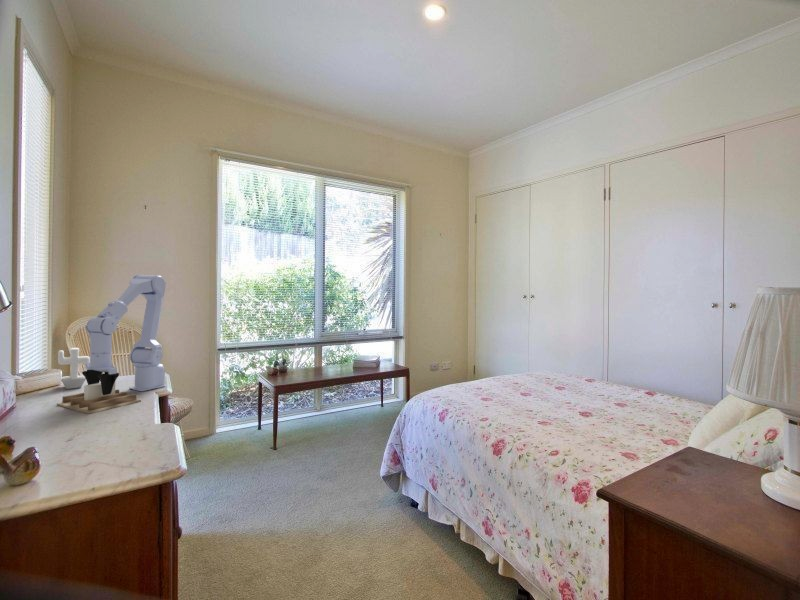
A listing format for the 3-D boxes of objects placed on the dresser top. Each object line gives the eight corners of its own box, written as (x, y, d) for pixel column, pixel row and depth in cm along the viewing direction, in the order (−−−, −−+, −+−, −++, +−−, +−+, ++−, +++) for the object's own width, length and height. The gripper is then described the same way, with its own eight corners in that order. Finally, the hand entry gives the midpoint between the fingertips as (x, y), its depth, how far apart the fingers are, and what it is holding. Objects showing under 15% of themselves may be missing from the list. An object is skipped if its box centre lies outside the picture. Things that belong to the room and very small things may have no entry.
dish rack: (110, 393, 141) (110, 386, 141) (141, 401, 134) (141, 393, 134) (57, 404, 127) (57, 396, 127) (87, 414, 119) (87, 405, 119)
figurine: (89, 387, 148) (90, 348, 148) (57, 390, 143) (57, 350, 142) (89, 383, 154) (90, 345, 154) (58, 386, 148) (58, 347, 148)
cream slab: (110, 397, 134) (111, 380, 134) (115, 399, 133) (115, 381, 133) (84, 403, 127) (84, 385, 127) (88, 404, 126) (88, 386, 126)
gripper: (75, 351, 129) (74, 392, 130) (99, 356, 123) (99, 398, 123) (99, 349, 136) (98, 387, 136) (123, 353, 129) (122, 393, 130)
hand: (100, 392), depth 130 cm, fingers open, 7 cm apart
